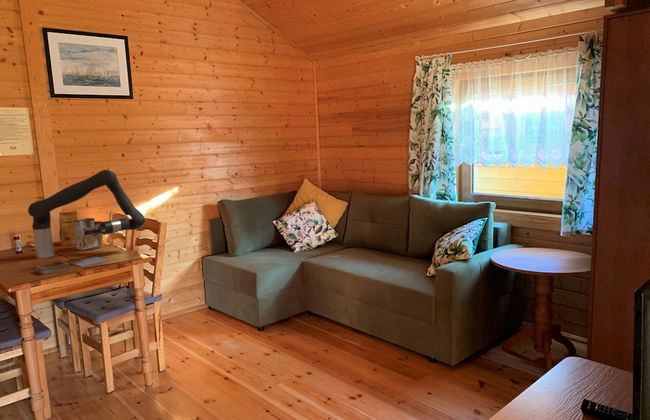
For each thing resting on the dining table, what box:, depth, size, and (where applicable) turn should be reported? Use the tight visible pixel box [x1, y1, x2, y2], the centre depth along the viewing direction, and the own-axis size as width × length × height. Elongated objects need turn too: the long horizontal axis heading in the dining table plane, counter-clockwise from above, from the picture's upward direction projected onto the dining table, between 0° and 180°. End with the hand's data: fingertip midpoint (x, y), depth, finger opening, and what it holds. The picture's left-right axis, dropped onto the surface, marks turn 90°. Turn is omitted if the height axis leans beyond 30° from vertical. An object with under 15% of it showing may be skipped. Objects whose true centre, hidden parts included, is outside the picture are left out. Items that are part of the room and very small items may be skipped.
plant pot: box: [88, 220, 104, 251], centre depth 309 cm, size 15×15×16 cm
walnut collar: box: [35, 260, 71, 275], centre depth 262 cm, size 10×13×3 cm
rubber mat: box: [68, 256, 109, 268], centre depth 276 cm, size 15×15×1 cm
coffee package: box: [58, 209, 79, 247], centre depth 323 cm, size 10×12×22 cm
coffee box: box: [73, 217, 98, 251], centre depth 274 cm, size 9×6×16 cm
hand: (81, 232), depth 272 cm, fingers closed on coffee box, 7 cm apart
